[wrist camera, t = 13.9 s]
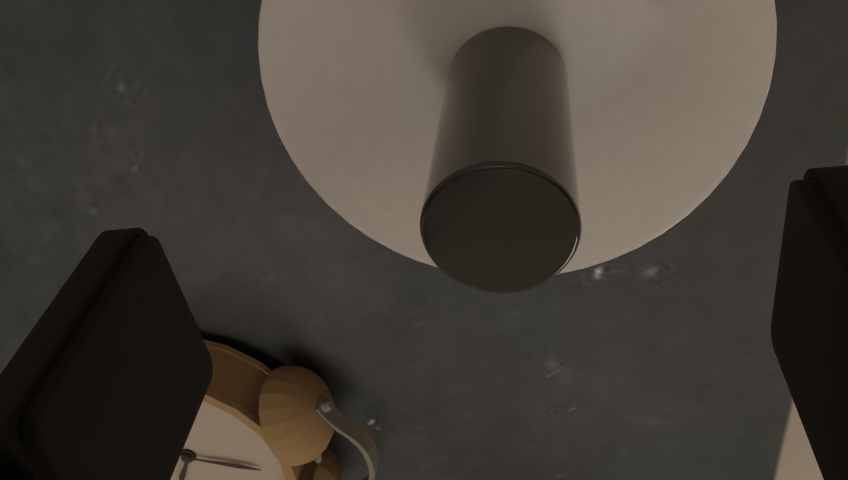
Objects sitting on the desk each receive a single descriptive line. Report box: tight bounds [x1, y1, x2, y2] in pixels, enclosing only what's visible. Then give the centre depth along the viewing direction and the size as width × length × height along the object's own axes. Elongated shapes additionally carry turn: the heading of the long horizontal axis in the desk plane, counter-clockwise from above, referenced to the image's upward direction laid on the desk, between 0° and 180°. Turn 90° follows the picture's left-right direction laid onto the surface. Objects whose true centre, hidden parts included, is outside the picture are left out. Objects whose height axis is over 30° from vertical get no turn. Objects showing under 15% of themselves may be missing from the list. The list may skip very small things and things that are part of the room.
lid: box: [258, 0, 777, 293], centre depth 15 cm, size 11×11×7 cm
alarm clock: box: [170, 339, 379, 480], centre depth 39 cm, size 11×5×15 cm
